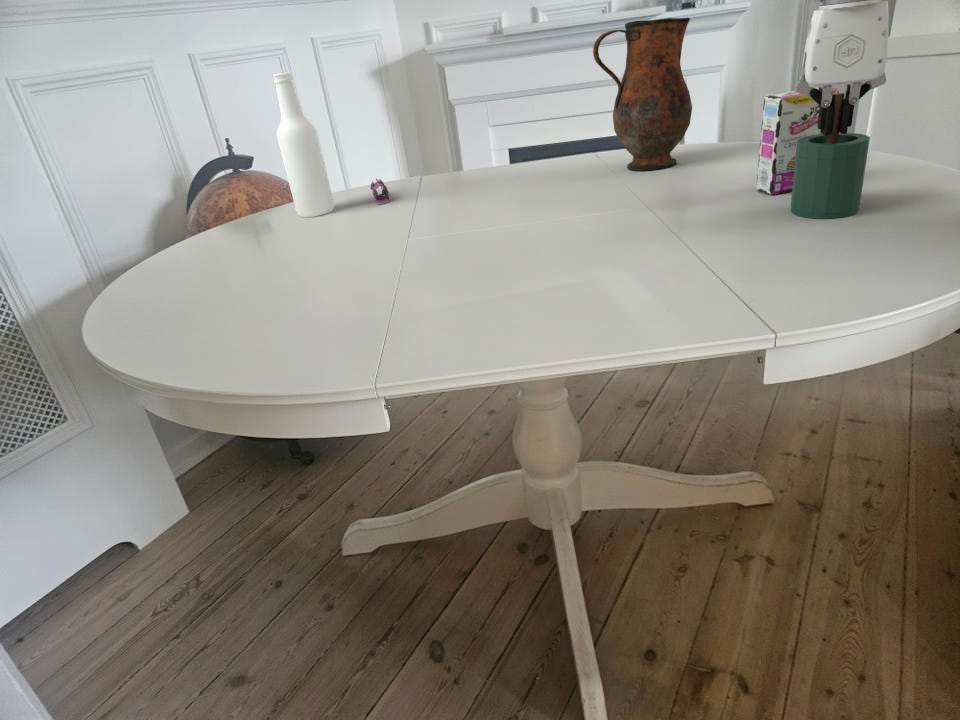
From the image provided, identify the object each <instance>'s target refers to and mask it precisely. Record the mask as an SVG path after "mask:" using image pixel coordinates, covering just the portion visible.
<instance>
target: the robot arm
mask: <svg viewBox="0 0 960 720" xmlns="http://www.w3.org/2000/svg"><path fill="white" fill-rule="evenodd" d="M808 2H815V3H816V2H817V3H818V4H817V5H818V6H819V7H818V9H815V10H814V11H813V13H812V16H811V20H810V22H809V27H808V31H807V36H806V42H805V45H804V51H803V56H802V63H801V64H802V65H801V73H800V75H799V78H798V80H797V82H796V84H795V87H794V89H793V91H795V92H797V93H799V94H803V95H806V96H810V97H811V98H812V99H813V100H814V101H815V102H816V103H817V104H818V105H819V106H820V107H819V116H818V125H817V127H818V129H821V130H820V132H821V133H822V134H823V135H829V134H830V133H831V126H832V118H833V110H834V108H833V107H831V104H832V103H831V92H832V88H833V86H836V85H844V84H846V85H845V92H844V101H843V108H842V116H841V123H840V131H839V133H842V134H847V133H848V128H850V127H852V124H853V119H854V111H855V105H857V104H858V102H859V100H861V99H862V98H863V97H864V96H865V95H866V94H867V93H868V92H869V91H871V90H874V89H876V88H878V87H881V86H883V85H885V84H886V82H887V76H886V72H885V70H886V64H887V56H888V47H889V46H888V43H889V28H890V27H889V25H890V22H889V21H890V15H889V13H890V12H889V9H890V8H889V1H888V0H883V1H882V0H808ZM812 86H813V87H812ZM817 87H818V89H816V88H817Z"/></svg>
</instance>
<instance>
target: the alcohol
mask: <svg viewBox="0 0 960 720" xmlns="http://www.w3.org/2000/svg"><path fill="white" fill-rule="evenodd" d="M292 75H293V73H292V72H291V71H284V72H278V73H273V75H272V78H273V83H274V84H275V90H276V96H277V101H278V106H279V112H280V123H279V125H278V127H277V130H276V140H277V143H278V147H279V151H280V156H281V158H282V162H283V166H284V169H285V173H286V178H287V181H288V184H289V190H290V192H291V196H292V200H293V204H294V207H295V211H296V214H297V215H298V216H299V217H301V218H312V217H313V218H314V217H319V216H324V215H327V214H329V213H332V212H333V211H334V209H335V202H334V201H335V200H334V198H333V194H332V193H333V192H332V188H331V184H330V180H329V176H328V172H327V167H326V164H325V159H324V155H323V150H322V146H321V142H320V138H319V134H318V130H317V128H316V127H315V124H313V122H312V121H310V120H309V119H308V118H307V117H306V116H305V114H304V112H303V108H302V106H301V102H300V100H299V95H298V93H297V90H296V86H295V83H294V78H293V76H292Z"/></svg>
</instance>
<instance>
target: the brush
mask: <svg viewBox="0 0 960 720" xmlns="http://www.w3.org/2000/svg"><path fill="white" fill-rule="evenodd" d="M844 97H845V92H839V93H834V94H832V99H831V103H832V104H831V107H833V108H834V110H833V118H832V126H831V133H830V134H829V135H827V140H826V144H834V143H838V139H839V133H840V132H839V131H840V123H841V116H842V108H843V101H844Z"/></svg>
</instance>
